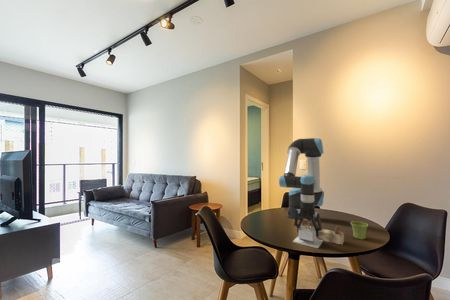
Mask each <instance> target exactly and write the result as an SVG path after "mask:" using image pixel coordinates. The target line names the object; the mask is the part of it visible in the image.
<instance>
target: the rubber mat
mask: <svg viewBox="0 0 450 300" xmlns="http://www.w3.org/2000/svg"><path fill="white" fill-rule="evenodd" d="M323 242H324V241H322V240H318V239H317V242H316V243H314V241H309V240H305V239H299V235H298V236H296V237H295V238H294V240H292V243H294V244H298V245H302V246H306V247H311V248H314V249H319V248H320V247H321V245H322V244H323Z"/></svg>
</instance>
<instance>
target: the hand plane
mask: <svg viewBox="0 0 450 300" xmlns="http://www.w3.org/2000/svg"><path fill="white" fill-rule="evenodd" d="M303 225H304V226H305V225H306V226H312V227H314V226H313V223H312V221H311V220H310V221H309V218H308V219H307V218H305V219H303V221H302V224H301V226H300V227H302V226H303ZM317 239H318V240H322V241H323V242H327V243H332V244H337V245H340V244H341V246H343V244H344V241H345V240H344V239H345V234H344V232H342V227H341V226H340V225H335V226H334V230H330V229H324V228H322V230H321V231H319V236H318V237H317Z"/></svg>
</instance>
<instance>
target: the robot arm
mask: <svg viewBox="0 0 450 300" xmlns="http://www.w3.org/2000/svg"><path fill="white" fill-rule="evenodd" d="M301 154H304V156H305V157H306V161H307V162H306V163H307V174H302V175H301V176H297V175H296V173H297V168H298V162H299V158H300V157H299V156H301ZM323 154H324V146H323V141H322V139H321V138H315V137H312V138H311V137H310V138H298V139H296V140H294V141H292V143H290V145H289V146H288V148H287V157H286V162H285V169H284V172H283V175H280V176H279V178H278V182H279V183H278V185H279V187H280V188H284V189H287V188H290V189H289V191H288V209H287V212H286V217H287V218H289V219H293V220H294V224H293V226H294V227H296V228H297V233H298V234H299V230H298V229H300V228H301V226H302V221H303V219H307V218H308V219H310V221H312V223H313V227H314V228H315V231H314V243H316V242H317V237H318V236H319V231H321V230H322V229H323V227H322V221H321V212H316V210H315V207H321V206H323V204H324V197H325V191H323V188H321V174H320V172H321V171H320V167H321V166H320V158H321V157H322V155H323ZM314 215H315V216H316V220H315V217H314ZM299 239H300V238H299Z"/></svg>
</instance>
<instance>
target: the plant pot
mask: <svg viewBox="0 0 450 300" xmlns="http://www.w3.org/2000/svg"><path fill="white" fill-rule="evenodd" d="M350 225H351V228H352V233H353V238H355V239H359V240H365V239H366V236H367V229H368V227H369V224H368V223H366V222H363V221H350Z"/></svg>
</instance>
